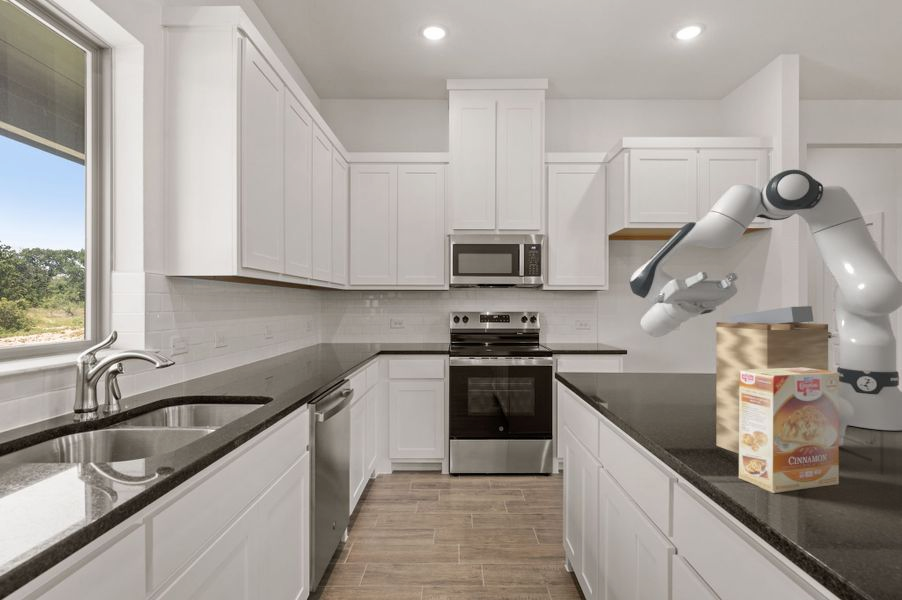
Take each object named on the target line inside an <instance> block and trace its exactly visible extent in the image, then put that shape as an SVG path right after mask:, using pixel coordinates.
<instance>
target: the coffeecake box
mask: <svg viewBox="0 0 902 600" xmlns="http://www.w3.org/2000/svg"><path fill="white" fill-rule="evenodd" d="M739 373H740V379H739V454H738V479H740V480H741V481H745V482H747V483H750V484H751V485H754V486H756V487H758V488H760V489H763V490H764V491H768V492H770V493H773V494H777V493H784V492H793V491H799V490H806V489H813V488H820V487H826V486H835V485H836V486H837V485H839V484H840V481H839V479H840V478H839V477H840V476H839V474H840V473H839V472H840V471H839V470H840V468H839V467H840V465H839V464H840V463H839V462H840V461H839V460H840V459H839V457H840V455H839V454H840V451H839V450H840V449H839V447H840V446H839V373H838V372H837V371H832V370H828V371H827V370H820V369H811V368H804V367H799V368H775V369H748V370H739Z"/></svg>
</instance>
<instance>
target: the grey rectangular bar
mask: <svg viewBox="0 0 902 600" xmlns="http://www.w3.org/2000/svg"><path fill="white" fill-rule="evenodd" d="M813 315H814V314H813V306H812V305H803V306H788V307H781V308H774V309H767V310H760V311H754V312H747V313H741V314H733V315H731V316H730V318H731V319H730V320H731V323H737V322H749V323H771V324H792V323H809V322H812V323H813V322H814V316H813Z"/></svg>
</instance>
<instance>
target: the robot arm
mask: <svg viewBox="0 0 902 600" xmlns="http://www.w3.org/2000/svg"><path fill="white" fill-rule="evenodd" d="M795 214H796V215H798V216H800V217H801V218H802V219H803V220H804V221H805V223H806V224H808V228H809V231H810V234H812V237H813V241H814V242H815V245H816V246H817V250H818V252H819V254H820V257H821V259H822V261H823V263H824V264H825V265H826V266H827V268H828V269H829V271H830V273H831V274H832V276H833V278H834V279H835V281H836V283H837V285H836V287H835V288H834V291H833V301H834V312H835V318H836V319H835V320H836V327H837V331H838V345H839V346H838V349H839V351H838V354H839V355H838V356H839V357H838V361H839V363H838V367H837V369H836V372H838V373H839V397H840V398H843V399H845V400H846V401H848V402H849V403H850V404H851V406H852V408H853V410H854V415H853V418H852V419H851V421H850V422H849V423H848V425H847V426H852V427H857V428H864V429H871V430H880V431H902V391H901V390H900V389H899V387H898V386H899V385H900V382H899V381H900V376H899V372H898V371H897V339H896V337H895V335H894V332H893V331H894V330H893V328H892V324H891V319H890V314H892V313H893V312H895V311H897V310H898V309H899V308H900V307H902V281H901V280H900V279H899V278H898V277H897V275H896V273H895V272H894V270H893V269H892V267H891V266H890V264H889V262H888V261H887V260H886V258H885V257H884V256H883V254H882V253H881V251H880V250H879V248H878V246H877V245H876V243H875V241H874V238H873V236H872V234H871V232H870V230H869V228H868V226H867V223H866V221H865V219H864V216H863V214H862V212H861V211H860V208H859V207H858V205H857V204H856V202H855V199H853V197H852V196H851V194H850V193H849V192H848V191H847V190H846V189H845V187H842V186H840V185H828V186H827V185H826V186H824V185H823V184H822V183H821V182H820V181H818V180H817V179H815V178H813V176H811V175H810V174H809V173H808V172H805V171H803V170H800V169H788V170H783V171H781V172H778V174H776V175H774V176H773V177H772V178H771V179H770V180H769V181H768V182H767V183H766V184H765V185H764V186H762V187H754V186H753V185H750V184H745V183H739V184H734V185H732V186H730V188H728V190H726V191H725V192H724V193H723V194H722V195H721V196H720V197H719V199H718V200H717V201H716V202H715V204H713V206H711V209H710V210H709V211H708V213H707V214H706V215H704V217H702V218H701V219H700V220H698V221H696V222H688V223H686V224H685V225H683V226H682V227H680V228H679V229H678V230H677V231H676V232H675V233H674V234H673V235H672V236H671V237H670V238H669V239H668V240H667V241H666V242H665V243H664V244H663V245H662V246H661V247H660V248H659V249H658V250H657V251H655V253H654V254H653V255H652V256H651V257H650V258H649V259H648V260H647V261H645V262H644V264H642V265H641V266H640V267H639V268H637V269H636V270H635V271H634V272H633V274H632V275H631V277H630V279H629V285H630V290H631V292H632V294H634V295H636V296H638V297H640V298H642V299H645V300H646V301H648V302H650V303H651V304H653V305H652V306H651V307H650V308H649V309H648V310H647V311H646V312H645V314H643V316H642V317H641V319H640V322H639V323H640V326H641V328H642V330H643V331H644V332H646V333H647V334H648V335H649V336H652V337H654V338H661V337H663V336H665V335H667V334H670V333H671V332H672V331H674V330H676V329H678V327H679V326H681V324H682V323H684V322H686V321H688V320H690V319H691V318H695V317H698V316H700V315H701V316H702V315H705V314H709V313H710V314H711V313H713V312H715V311H716V310H717V307H719V306H721V305H723V304H724V303H726V302H727V301H730V300H731V298H733V297H734V296H735V295H736V294H737V292H738V287H737V286H736V284H735V281H736V280H738V278H739V277H738V275H737V273H736V272H730V273H728V274H726V275H725V278H724V279H708V277H709V276H708V274H707V272H705V271H703V272H702V271H699V272H698V273H697V274H695V275H692V276H690V277H688V278H685V279H684V278H675V277H673V276H671V275H670V274H668V273H666V272H664V271H663V268H664V266H665V265H666V264H667V263H668V262H669V261H670V260H671V259H672V258H673V257H674V256H675V255H676V254H678V253H679V251H681V250H682V249H683V248H685V247H686V248H687V247H691V246H692V247H700V248H705V249H711V250H712V249H713V250H722V249H727V248H729V247H731V246H733V245H735V244H736V243H737V242H738V241H739V239H741V237H742V236H743V234H744V233H745V231H747V229H748V228H749V226H750V225H751V224H752V223H753V222H754V220H755V219H756V218H761V219H765V220H769V221H770V220H771V221H783V220H785V219H788V218H791V217H792V216H794V215H795Z"/></svg>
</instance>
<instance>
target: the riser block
mask: <svg viewBox="0 0 902 600" xmlns="http://www.w3.org/2000/svg"><path fill="white" fill-rule="evenodd" d="M715 326H716V327H715V328H716V331H715V332H716V333H715V334H716V335H715V336H716V337H715V338H716V339H715V340H716V343H715V345H716V346H715V347H716V349H715V350H716V354H715V355H716V358H715V359H716V379H715V380H716V388H715V390H716V394H715V395H716V408H715V409H716V420H715V421H716V423H715V424H716V426H715V427H716V447H719V448H722V449H724V450H728V451H731V452H733V453H736V454H738V455H739V379H740V373H739V370H748V369H775V368H799V367H804V368H811V369H820V370H827V371H829V323H809V322H802V323H792V324H771V323H749V322H737V323H732V322H720V321H719V322H718V321H717V322H716V325H715Z"/></svg>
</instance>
